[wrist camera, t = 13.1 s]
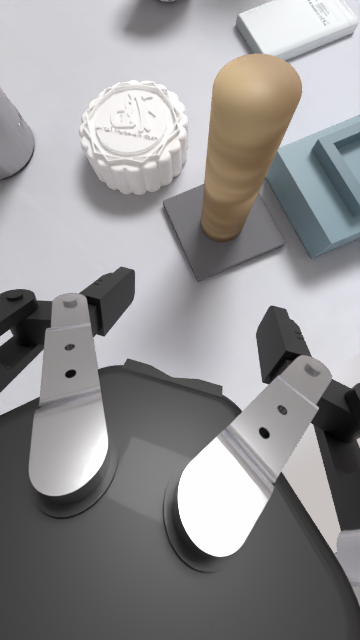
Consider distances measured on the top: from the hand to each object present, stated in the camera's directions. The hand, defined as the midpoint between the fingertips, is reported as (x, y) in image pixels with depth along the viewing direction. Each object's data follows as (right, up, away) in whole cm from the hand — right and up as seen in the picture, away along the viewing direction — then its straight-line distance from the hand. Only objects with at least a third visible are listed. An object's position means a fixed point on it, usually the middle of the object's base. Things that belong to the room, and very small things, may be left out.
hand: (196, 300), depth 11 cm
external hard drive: (+14, +36, +14) cm, 41 cm away
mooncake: (-6, +19, +13) cm, 24 cm away
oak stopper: (+4, +9, +10) cm, 14 cm away
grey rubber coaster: (+4, +9, +10) cm, 14 cm away
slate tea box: (+17, +13, +10) cm, 24 cm away
